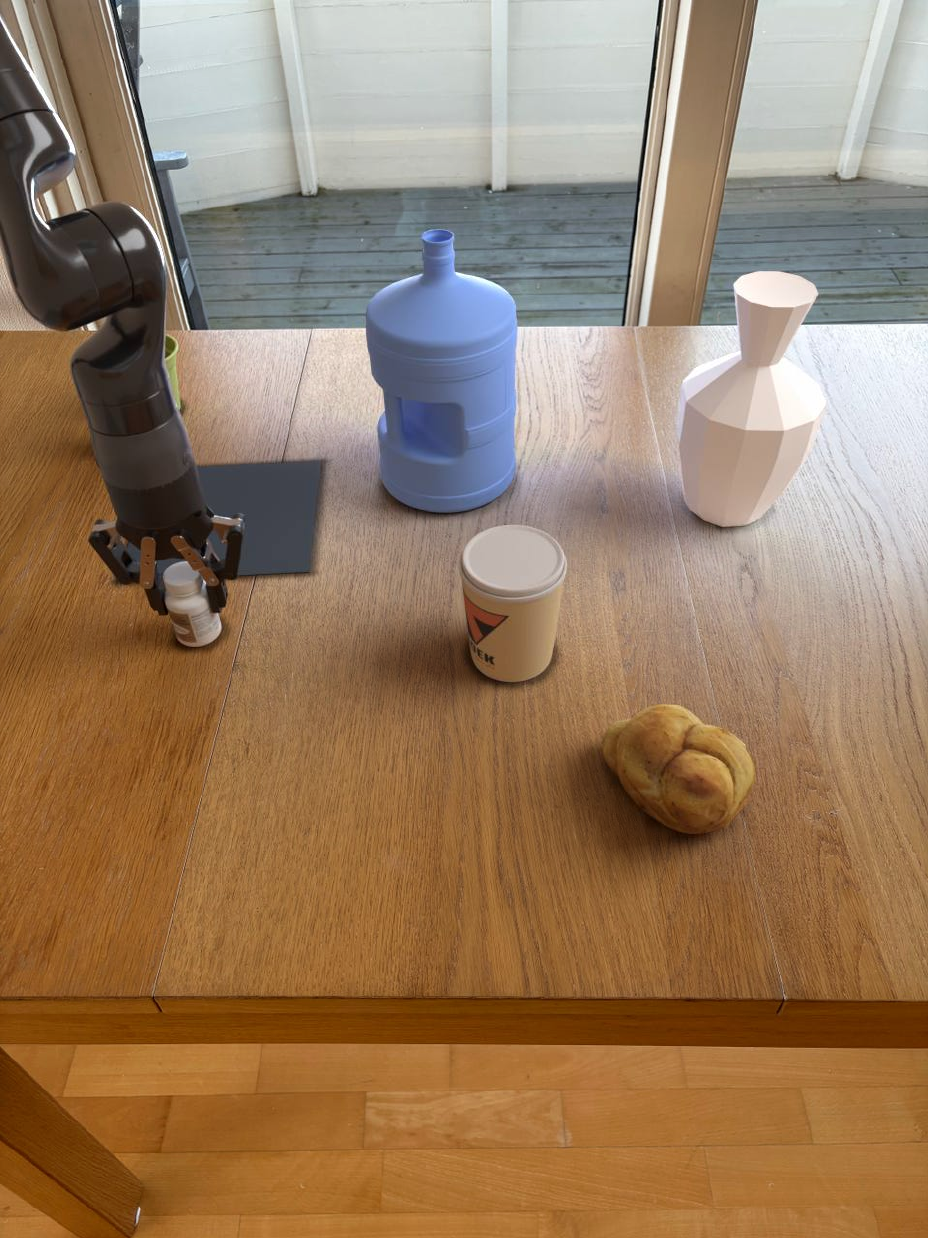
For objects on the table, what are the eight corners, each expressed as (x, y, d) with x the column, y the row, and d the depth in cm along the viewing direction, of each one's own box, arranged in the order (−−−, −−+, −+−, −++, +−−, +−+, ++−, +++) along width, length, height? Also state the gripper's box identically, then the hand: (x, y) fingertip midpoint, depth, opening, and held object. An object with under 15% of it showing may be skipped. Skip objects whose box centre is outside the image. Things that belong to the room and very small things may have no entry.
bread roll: (575, 766, 80) (581, 705, 75) (654, 710, 84) (665, 647, 79) (691, 870, 73) (708, 810, 67) (772, 802, 77) (793, 741, 72)
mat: (117, 581, 98) (116, 581, 98) (153, 469, 113) (152, 468, 113) (309, 572, 99) (309, 571, 99) (321, 461, 113) (321, 460, 113)
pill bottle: (168, 631, 93) (148, 572, 88) (206, 610, 95) (189, 551, 90) (191, 655, 91) (172, 596, 85) (230, 633, 93) (214, 573, 87)
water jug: (466, 423, 118) (461, 192, 99) (542, 485, 109) (552, 242, 89) (356, 465, 112) (327, 228, 93) (426, 534, 103) (409, 286, 83)
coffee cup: (447, 634, 92) (442, 538, 83) (535, 607, 94) (539, 511, 86) (485, 701, 86) (483, 605, 77) (578, 671, 88) (586, 574, 80)
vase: (692, 554, 99) (734, 333, 82) (646, 476, 109) (674, 265, 92) (818, 534, 101) (885, 314, 84) (761, 459, 111) (811, 249, 94)
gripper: (238, 430, 81) (271, 579, 93) (71, 437, 81) (125, 585, 93) (226, 482, 76) (262, 633, 88) (47, 490, 76) (107, 639, 88)
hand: (191, 607), depth 91 cm, fingers closed on pill bottle, 4 cm apart
